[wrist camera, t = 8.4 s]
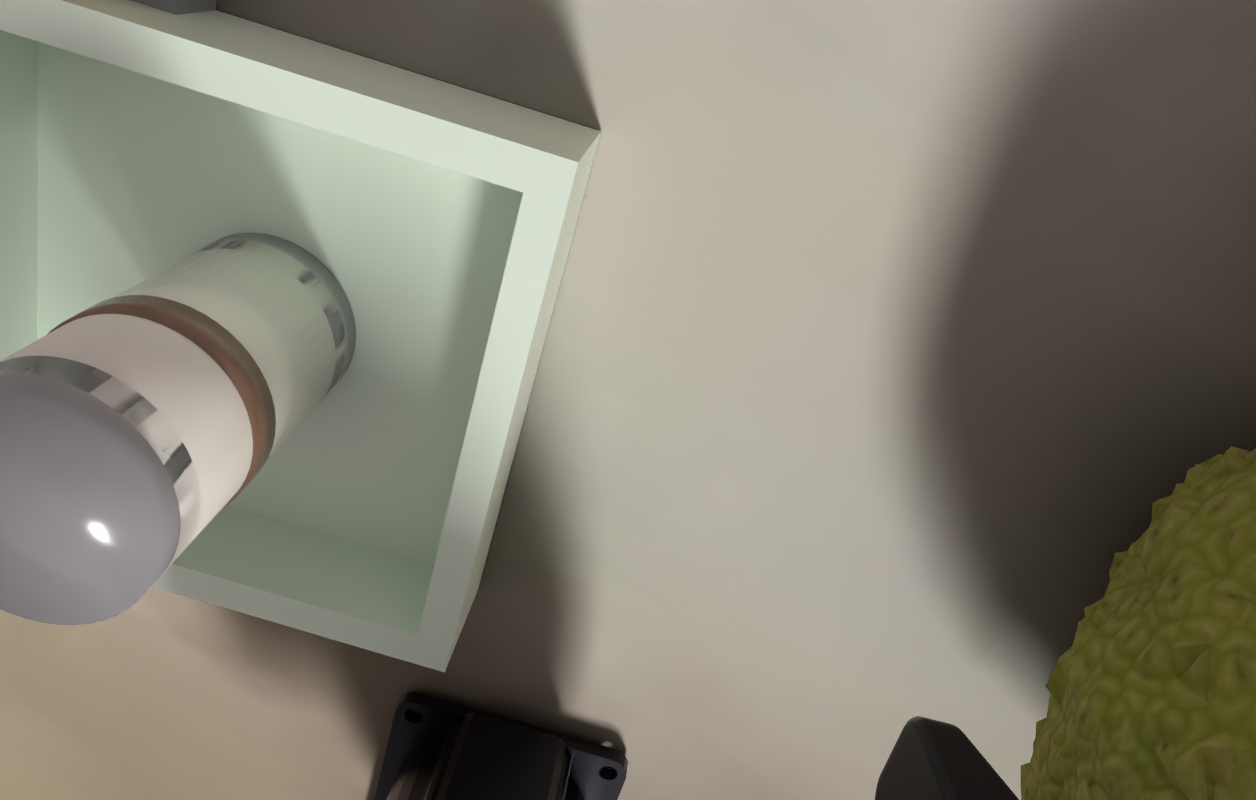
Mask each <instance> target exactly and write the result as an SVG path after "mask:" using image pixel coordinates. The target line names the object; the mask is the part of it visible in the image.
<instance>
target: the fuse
mask: <svg viewBox="0 0 1256 800" xmlns="http://www.w3.org/2000/svg"><path fill="white" fill-rule="evenodd" d="M355 343H356V325H355V320H354V314H353V311H352V308H351V305H350V302H349V300H348V298H347V295H346V293H345V291H344V290H343V288H342V286H341V285H340V283H339V281H338V280H337V279H336V278H335V276H334V275H333V274H332V272H331V271H330V270H329V269H328V268H327V267H326V266H325V265H324V264H323V263H322V262H321V261H320V260H319V259H317V258H316V257H315V256H314V255H313V254H311V253H310V252H308V251H307V250H305V249H304V248H302V247H300V246H298V245H296V244H294V243H293V242H291V241H288V240H285V239H283V238H280V237H277V236H273V235H269V234H262V233H238V234H232V235H228V236H225V237H222V238H220V239H218V240H216V241H214V242H212V243H210V244H208V245H206V246H204V247H203V248H201V249H199V250H197V251H195V252H194V253H192V254H190V255H188V256H187V257H185V258H183V259H181V260H179V261H178V262H176V263H174V264H172V265H170V266H169V267H167V268H165V269H163V270H162V271H160V272H158V273H156V274H154V275H153V276H151V277H149V278H147V279H145V280H144V281H142V282H140V283H138V284H137V285H135V286H133V287H131V288H129V289H128V290H126V291H124V292H122V293H120V294H119V295H117V296H115V297H113V298H111V299H107V300H104V301H101V302H99V303H97V304H95V305H93V306H91V307H89V308H87V309H86V310H84V311H82V312H80V313H78V314H77V315H75V316H73V317H71V318H69V319H68V320H66V321H64V322H62V323H60V324H59V325H58V326H56V327H55V328H54V329H52V330H51V331H50V332H49V333H48V334H47V335H45V336H44V337H42V338H40V339H38V340H36V341H35V342H33V343H31V344H29V345H28V346H26V347H24V348H22V349H20V350H19V351H17V352H15V353H13V354H11V355H10V356H8V357H6V358H4V359H2V360H1V361H0V609H1V610H4V611H6V612H8V613H11V614H14V615H17V616H20V617H23V618H26V619H30V620H34V621H38V622H43V623H50V624H58V625H80V624H90V623H94V622H99V621H103V620H106V619H108V618H111V617H114V616H116V615H118V614H120V613H122V612H123V611H125V610H127V609H128V608H129V607H131V606H132V605H133V604H134V603H136V602H137V601H138V600H139V599H140V598H141V597H142V595H143V594H144V593H145V592H146V591H147V590H148V589H149V588H150V587H151V586H152V585H153V583H154V582H155V581H156V580H157V579H158V578H159V577H160V576H161V575H162V574H163V573H164V571H165V570H166V569H167V568H168V567H169V566H170V565H171V564H172V563H173V562H174V561H175V559H176V558H177V557H178V556H179V555H180V554H181V553H182V552H183V551H184V550H185V549H186V547H187V546H188V545H189V544H190V543H191V542H192V541H193V540H194V539H195V538H196V536H197V535H198V534H199V533H200V532H201V531H202V530H203V529H204V528H205V527H206V526H207V524H208V523H209V522H210V521H211V520H212V519H213V518H214V517H215V516H216V515H217V514H218V512H219V511H220V510H221V509H223V508H224V507H226V506H227V505H228V504H229V503H231V502H232V501H233V500H234V499H235V498H236V497H237V496H238V495H239V494H240V493H241V492H242V490H243V489H244V488H245V487H246V486H247V485H248V484H249V483H250V482H251V481H252V479H253V478H254V477H255V476H256V475H257V474H258V473H259V471H260V470H261V469H262V468H263V466H264V464H265V463H266V461H267V459H268V458H269V457H270V456H271V455H272V453H273V452H274V451H275V450H276V449H277V448H278V447H279V446H280V445H281V444H282V443H283V441H284V440H285V439H286V438H287V437H288V436H289V435H290V434H291V433H292V432H293V431H294V429H295V428H296V427H297V426H298V425H299V424H300V423H301V422H302V421H303V420H304V419H305V417H306V416H307V415H308V414H309V413H310V412H311V411H312V410H313V409H314V408H315V407H316V405H317V404H318V403H319V402H320V401H321V400H322V399H323V398H324V397H325V396H326V394H327V393H328V392H329V391H330V390H331V389H332V388H333V387H334V386H335V385H336V384H337V382H338V381H339V380H340V379H341V378H342V377H343V375H344V374H345V372H346V371H347V369H348V367H349V365H350V363H351V360H352V358H353V354H354V350H355Z"/></svg>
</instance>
